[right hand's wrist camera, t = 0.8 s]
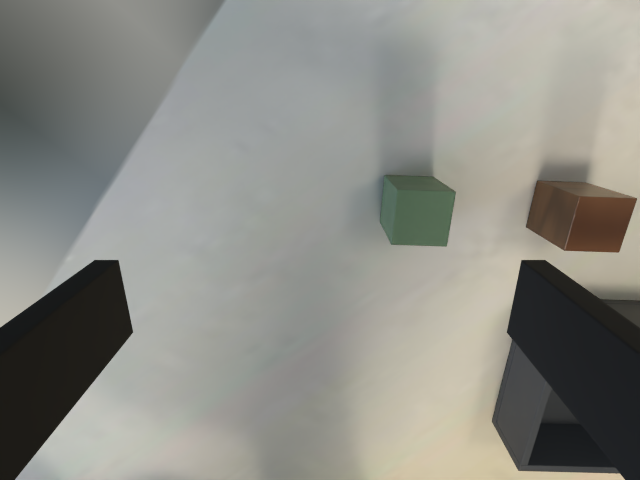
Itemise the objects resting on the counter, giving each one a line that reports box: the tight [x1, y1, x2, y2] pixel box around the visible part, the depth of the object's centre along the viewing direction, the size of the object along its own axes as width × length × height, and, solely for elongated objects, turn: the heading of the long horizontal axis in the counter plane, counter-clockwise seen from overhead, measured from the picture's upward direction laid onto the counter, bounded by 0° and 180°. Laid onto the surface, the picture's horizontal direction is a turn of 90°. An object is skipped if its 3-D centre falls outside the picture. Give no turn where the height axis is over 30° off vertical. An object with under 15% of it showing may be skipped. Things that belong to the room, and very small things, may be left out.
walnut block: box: [526, 181, 637, 252], centre depth 32 cm, size 4×4×6 cm
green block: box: [380, 175, 456, 246], centre depth 32 cm, size 4×4×6 cm
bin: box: [492, 300, 640, 473], centre depth 39 cm, size 17×24×6 cm
